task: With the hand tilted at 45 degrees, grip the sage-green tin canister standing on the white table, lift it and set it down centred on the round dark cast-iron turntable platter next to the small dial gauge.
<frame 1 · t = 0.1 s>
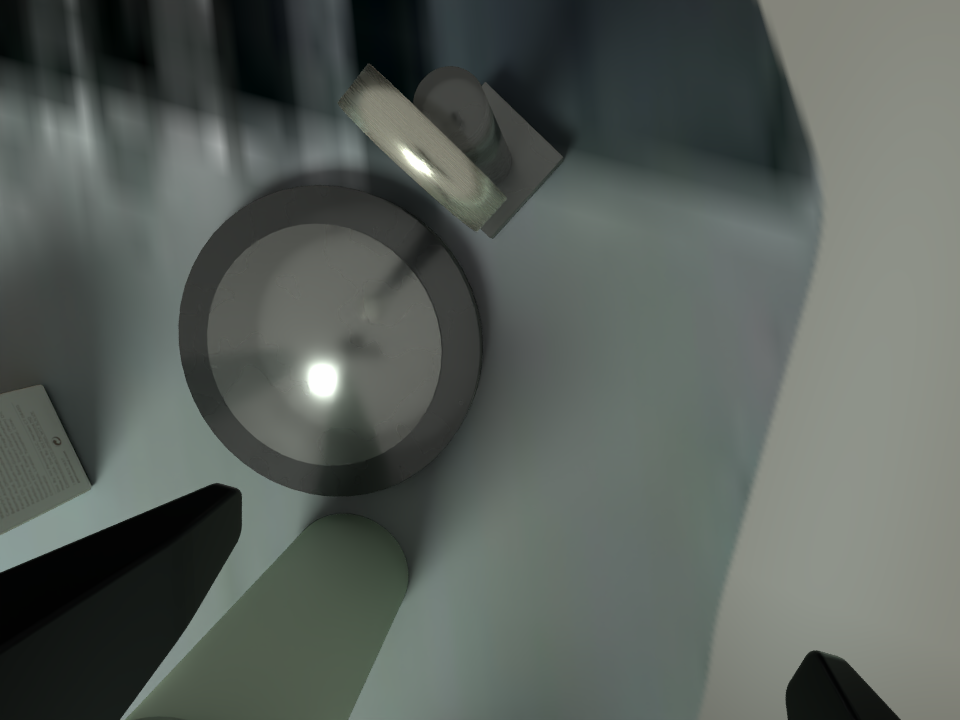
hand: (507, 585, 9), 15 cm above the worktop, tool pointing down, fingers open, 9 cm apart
canister: (349, 570, 27), on the worktop
platter: (333, 344, 25), on the worktop
small box: (10, 459, 28), on the worktop
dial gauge: (490, 165, 23), on the worktop
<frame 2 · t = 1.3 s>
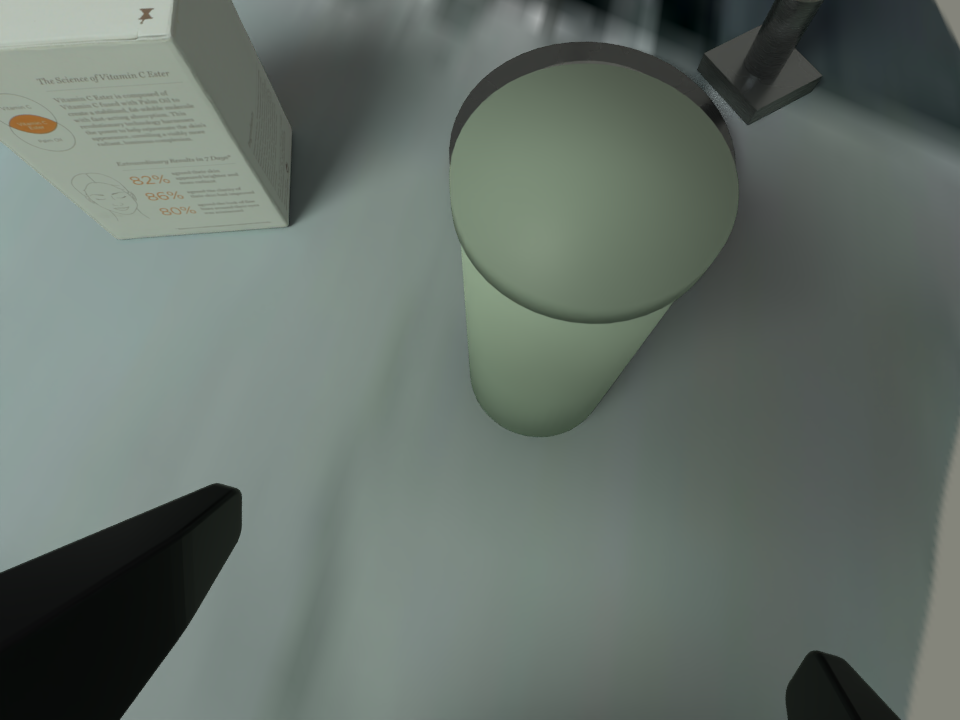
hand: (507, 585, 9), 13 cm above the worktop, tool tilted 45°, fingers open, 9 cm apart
canister: (537, 370, 24), on the worktop
platter: (587, 165, 27), on the worktop
small box: (210, 187, 27), on the worktop
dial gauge: (753, 80, 29), on the worktop
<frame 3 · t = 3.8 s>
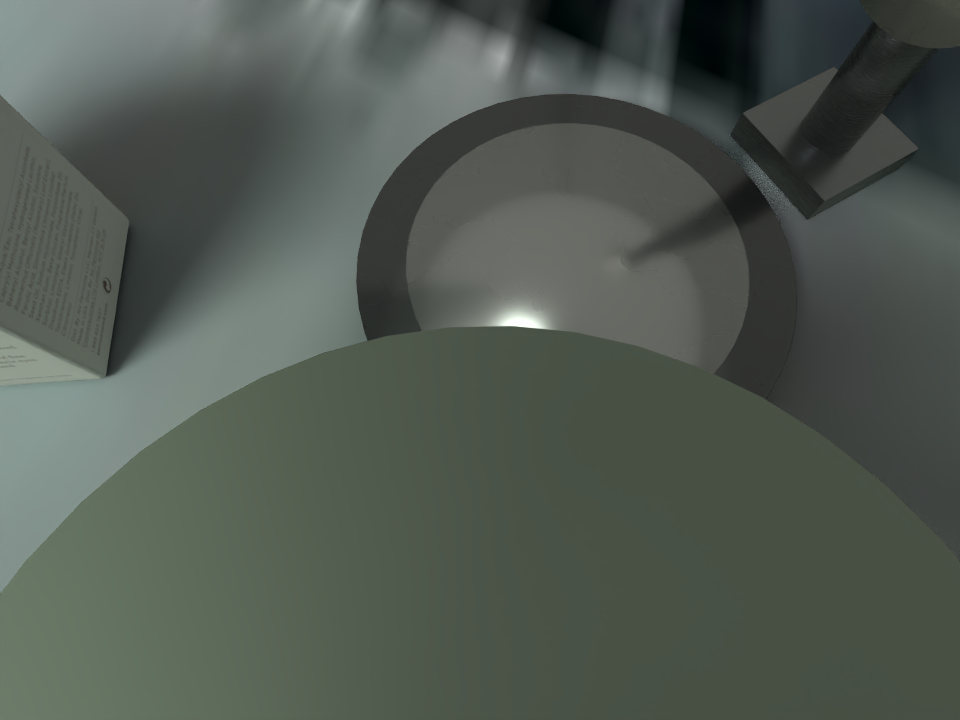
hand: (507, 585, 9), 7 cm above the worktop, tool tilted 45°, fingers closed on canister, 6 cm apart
canister: (482, 637, 15), on the worktop, touching gripper
platter: (570, 280, 18), on the worktop
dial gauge: (813, 151, 20), on the worktop
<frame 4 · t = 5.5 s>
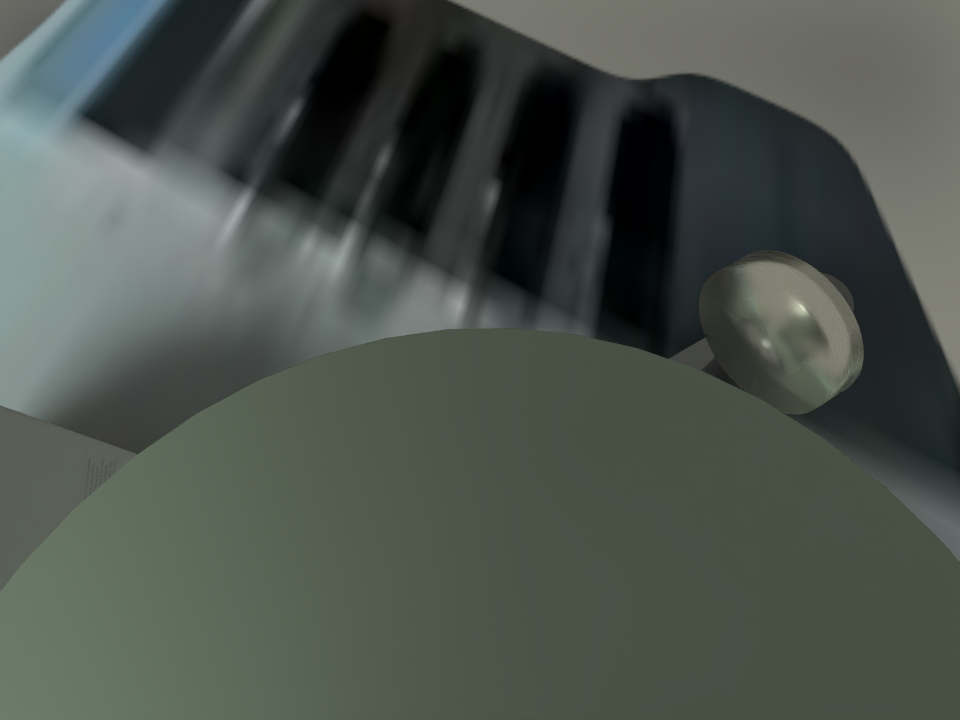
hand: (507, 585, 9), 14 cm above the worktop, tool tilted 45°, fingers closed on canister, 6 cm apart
canister: (482, 638, 15), point 8 cm above the worktop, touching gripper
small box: (55, 539, 23), on the worktop
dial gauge: (705, 395, 25), on the worktop
when the fingers open (9 cm above the worktop, at t = 7.1 s): canister stays where it is, resting on platter.
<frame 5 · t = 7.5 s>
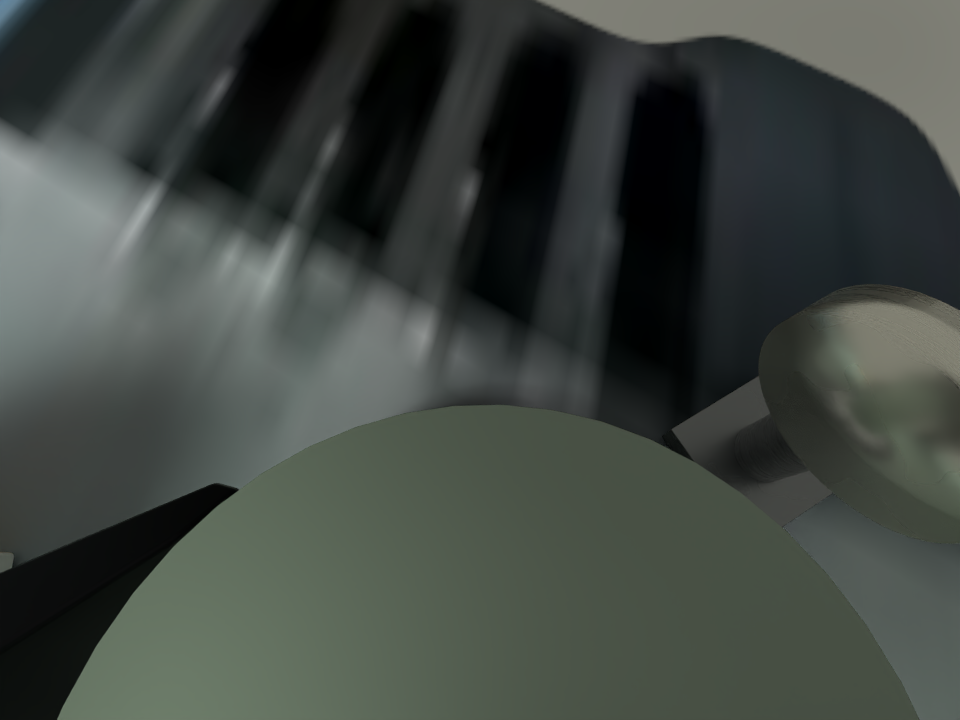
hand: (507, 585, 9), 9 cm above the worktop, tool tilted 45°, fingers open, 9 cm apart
canister: (481, 639, 16), point 1 cm above the worktop, touching platter
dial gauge: (749, 458, 19), on the worktop
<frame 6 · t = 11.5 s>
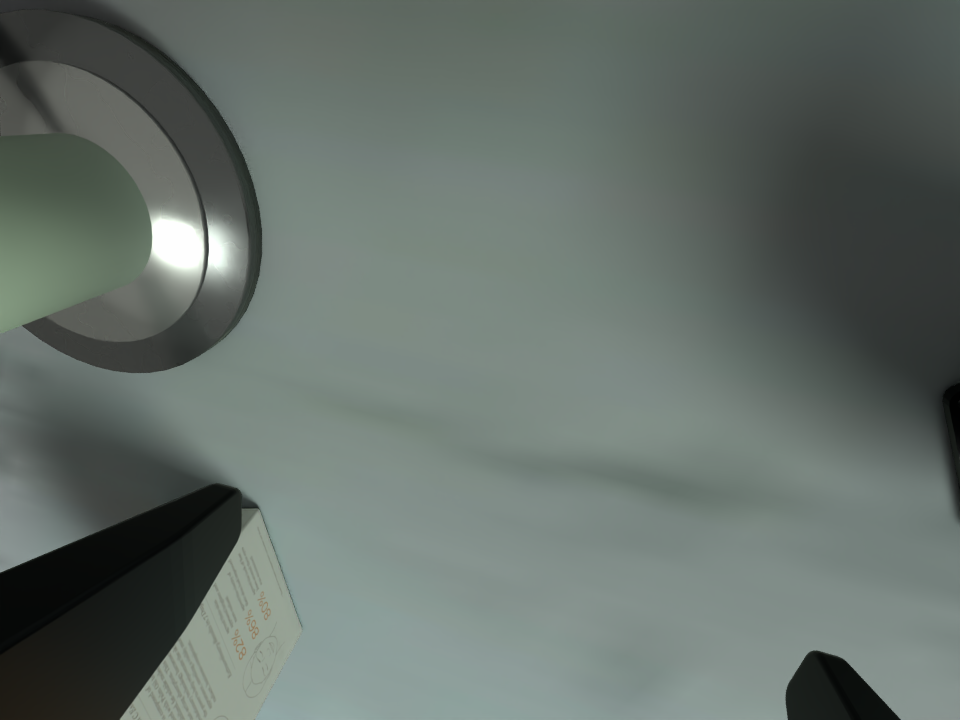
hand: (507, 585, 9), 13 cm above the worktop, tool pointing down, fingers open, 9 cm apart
canister: (81, 215, 21), point 1 cm above the worktop, touching platter
platter: (104, 208, 22), on the worktop
small box: (238, 567, 29), on the worktop
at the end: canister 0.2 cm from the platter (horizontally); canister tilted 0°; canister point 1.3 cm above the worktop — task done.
